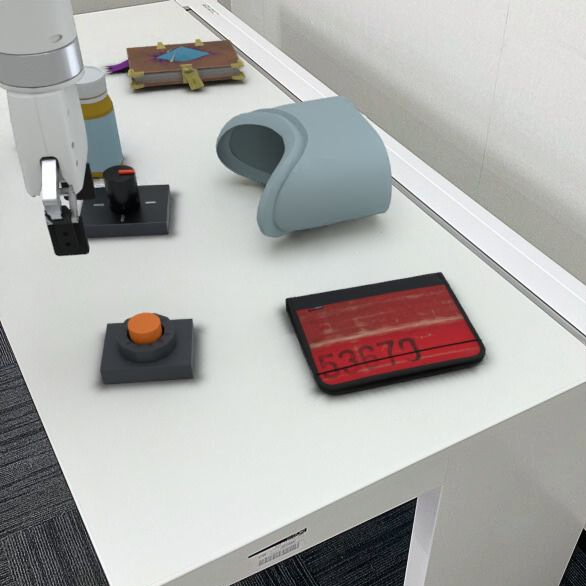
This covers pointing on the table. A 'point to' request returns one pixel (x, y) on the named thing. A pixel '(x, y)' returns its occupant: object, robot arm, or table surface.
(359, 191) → the grey-blue curved shell
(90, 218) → the dial panel
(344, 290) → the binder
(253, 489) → the table surface
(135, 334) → the power button
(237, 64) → the book
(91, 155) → the bottle
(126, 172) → the dial
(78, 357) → the table surface
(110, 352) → the switch block
